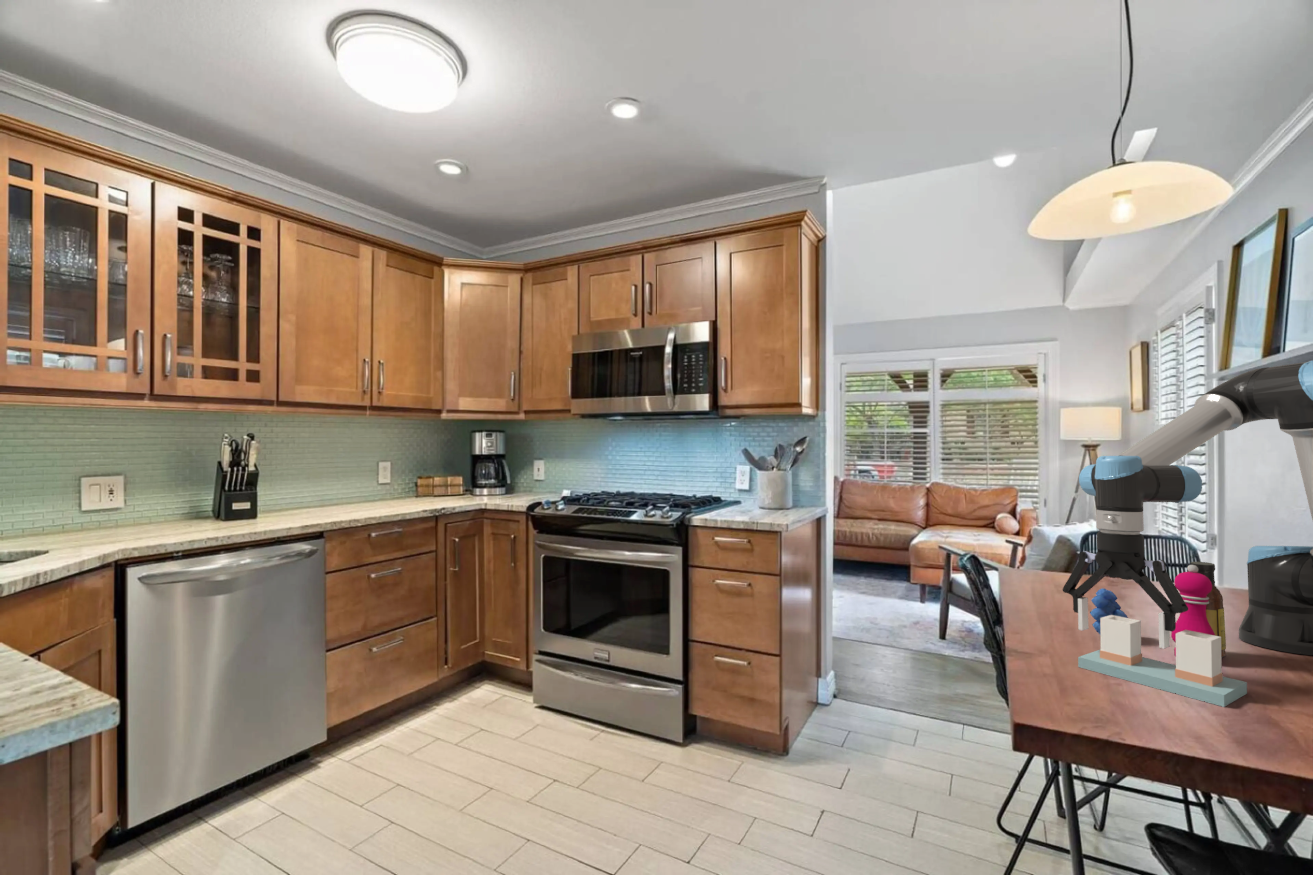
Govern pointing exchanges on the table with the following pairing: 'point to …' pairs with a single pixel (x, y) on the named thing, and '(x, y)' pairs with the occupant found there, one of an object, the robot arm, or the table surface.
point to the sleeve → (1120, 639)
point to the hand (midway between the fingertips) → (1122, 637)
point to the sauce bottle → (1214, 604)
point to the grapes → (1105, 607)
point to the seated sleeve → (1198, 657)
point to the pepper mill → (1193, 602)
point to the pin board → (1165, 679)
